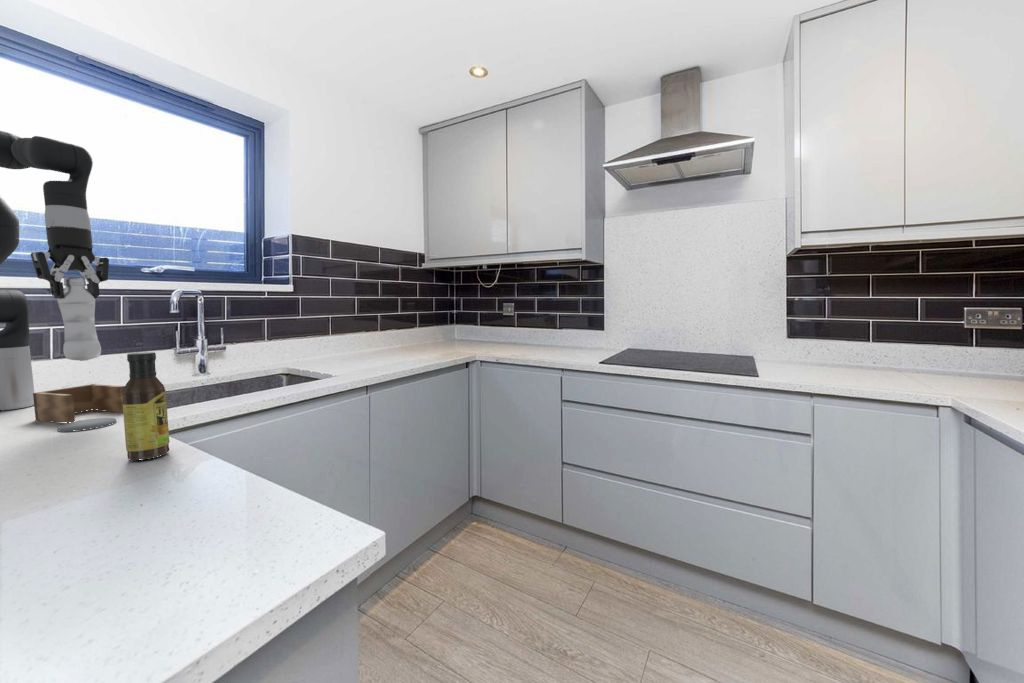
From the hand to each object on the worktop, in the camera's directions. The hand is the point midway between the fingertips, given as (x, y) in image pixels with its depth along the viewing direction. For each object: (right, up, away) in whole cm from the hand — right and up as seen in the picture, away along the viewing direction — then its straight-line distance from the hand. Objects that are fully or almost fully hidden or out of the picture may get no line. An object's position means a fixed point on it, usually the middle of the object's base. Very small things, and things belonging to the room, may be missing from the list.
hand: (76, 298), depth 103 cm
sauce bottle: (+36, -33, -22) cm, 54 cm away
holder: (-6, -30, +8) cm, 32 cm away
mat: (+4, -31, -1) cm, 31 cm away
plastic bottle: (0, -15, +1) cm, 15 cm away
